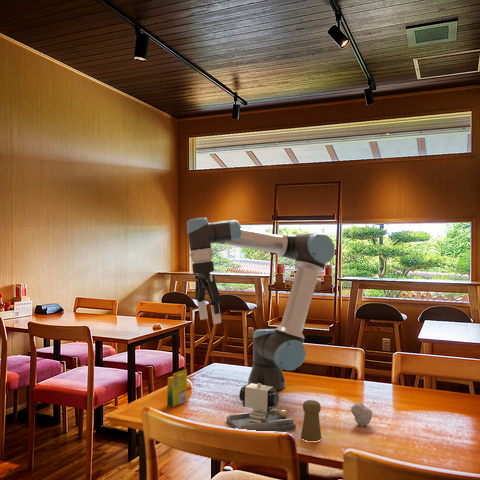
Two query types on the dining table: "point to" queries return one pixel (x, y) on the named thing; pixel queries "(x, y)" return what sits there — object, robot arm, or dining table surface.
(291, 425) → the grey tray
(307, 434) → the olive pepper shaker
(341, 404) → the dining table surface
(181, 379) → the crayon box
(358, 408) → the gray rock
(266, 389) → the pneumatic valve
